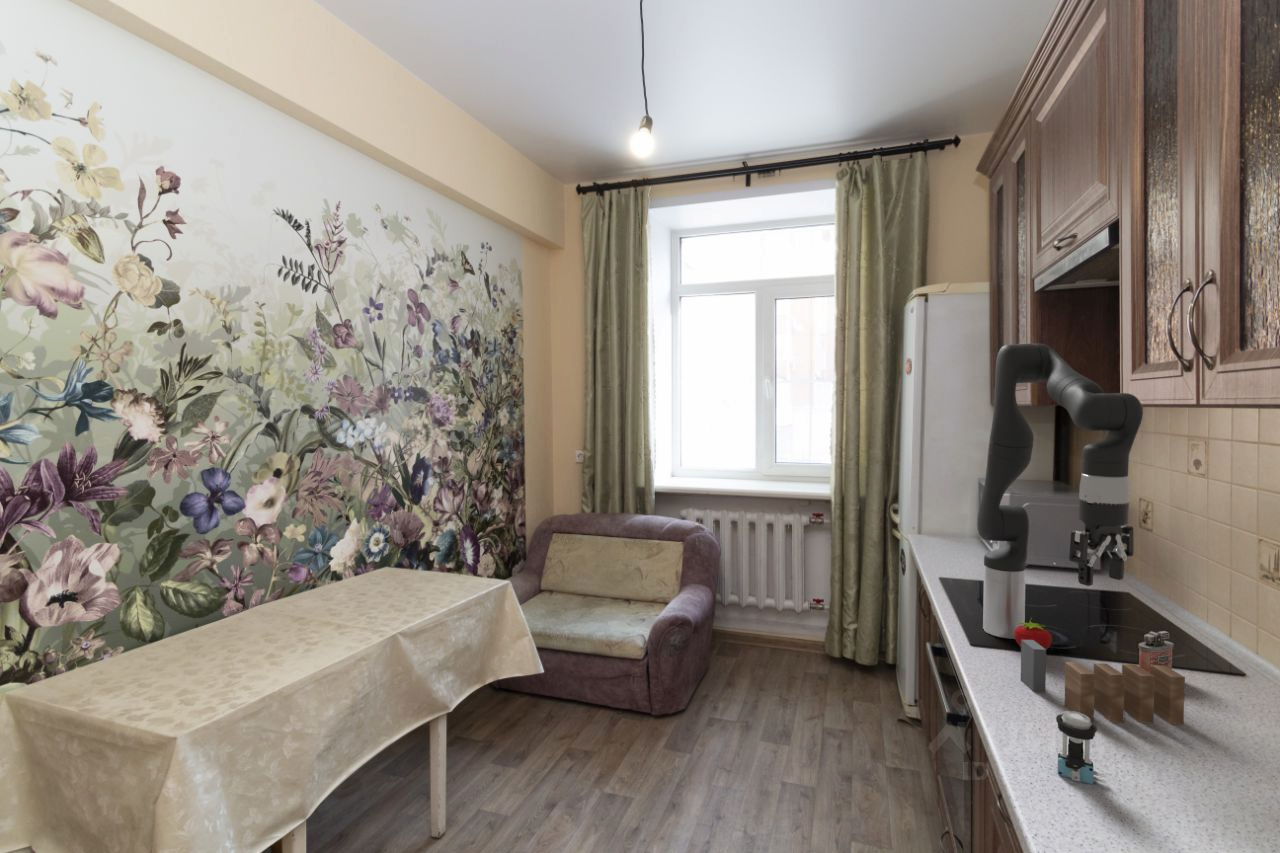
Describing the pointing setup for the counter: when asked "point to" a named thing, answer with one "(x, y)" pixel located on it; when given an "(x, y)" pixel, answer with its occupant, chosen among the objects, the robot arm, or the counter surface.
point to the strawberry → (1033, 634)
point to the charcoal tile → (1033, 665)
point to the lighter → (1155, 651)
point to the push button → (1076, 747)
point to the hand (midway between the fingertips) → (1100, 581)
